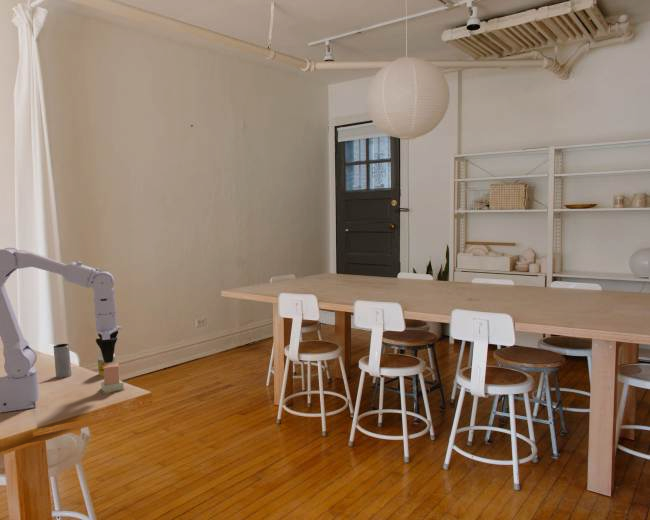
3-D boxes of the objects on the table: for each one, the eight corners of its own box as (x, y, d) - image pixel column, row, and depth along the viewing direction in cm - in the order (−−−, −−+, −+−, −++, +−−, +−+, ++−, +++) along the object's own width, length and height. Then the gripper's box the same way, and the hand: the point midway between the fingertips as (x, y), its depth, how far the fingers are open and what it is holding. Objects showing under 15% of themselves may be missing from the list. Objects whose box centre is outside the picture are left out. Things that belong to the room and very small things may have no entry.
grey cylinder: (67, 373, 179) (64, 343, 178) (73, 375, 176) (71, 344, 175) (53, 376, 176) (50, 346, 175) (60, 378, 173) (57, 347, 172)
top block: (105, 393, 152) (104, 386, 152) (101, 388, 156) (101, 382, 156) (123, 389, 155) (123, 382, 155) (119, 384, 159) (118, 378, 159)
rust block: (104, 384, 153) (103, 367, 153) (105, 381, 157) (104, 364, 156) (119, 383, 154) (118, 366, 154) (119, 379, 158) (118, 362, 158)
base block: (103, 401, 152) (102, 394, 152) (100, 395, 157) (99, 388, 157) (125, 396, 155) (124, 389, 154) (121, 390, 160) (121, 384, 160)
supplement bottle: (120, 376, 173) (118, 347, 172) (106, 381, 168) (104, 351, 168) (109, 374, 176) (107, 345, 175) (95, 378, 171) (93, 349, 170)
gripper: (119, 315, 148) (123, 363, 150) (121, 307, 162) (124, 351, 163) (92, 318, 146) (96, 366, 147) (95, 309, 160) (99, 354, 161)
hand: (109, 358), depth 155 cm, fingers open, 7 cm apart
